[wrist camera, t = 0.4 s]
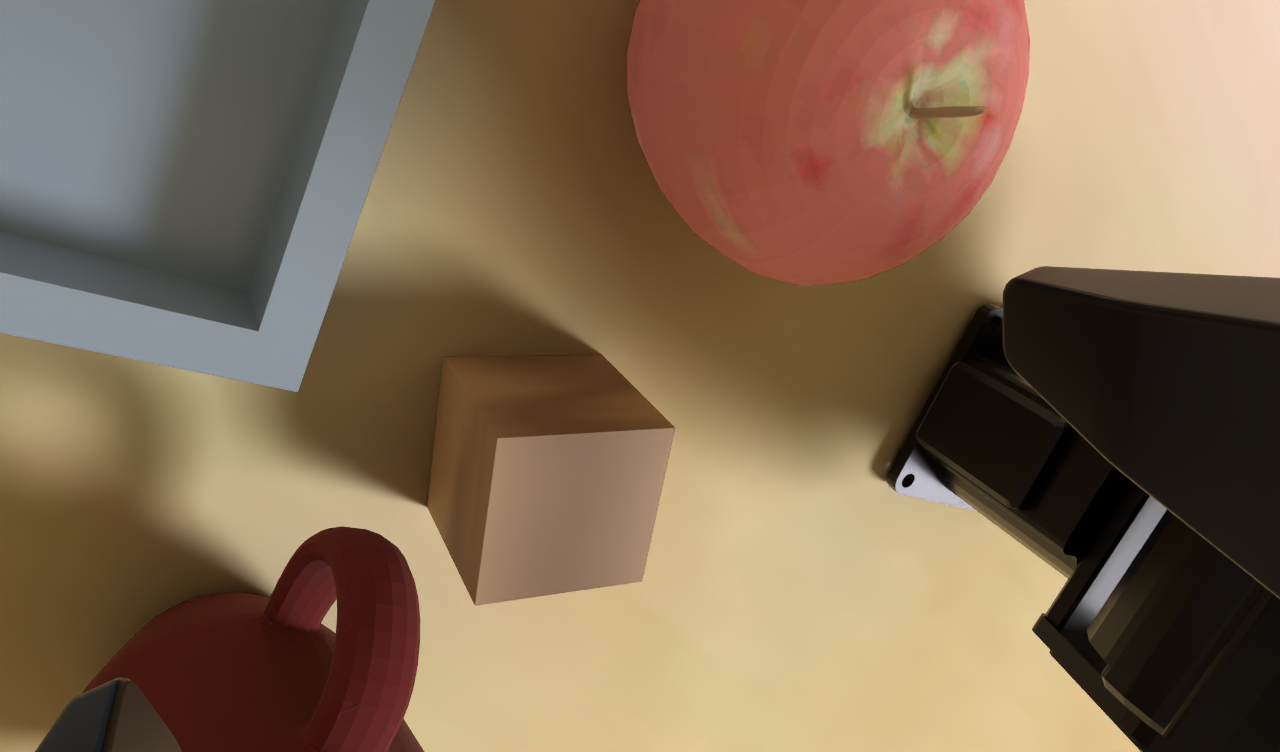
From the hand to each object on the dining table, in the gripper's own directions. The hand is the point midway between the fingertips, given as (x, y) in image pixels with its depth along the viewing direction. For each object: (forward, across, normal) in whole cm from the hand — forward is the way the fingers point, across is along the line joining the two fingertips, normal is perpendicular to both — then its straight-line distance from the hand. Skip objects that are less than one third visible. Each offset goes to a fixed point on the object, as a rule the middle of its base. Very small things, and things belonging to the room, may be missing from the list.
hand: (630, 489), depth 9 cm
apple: (+13, -8, 0) cm, 15 cm away
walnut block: (+13, -1, +7) cm, 15 cm away
